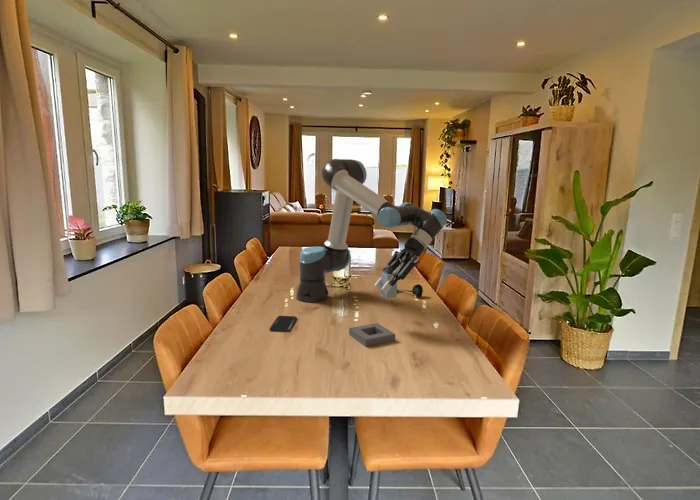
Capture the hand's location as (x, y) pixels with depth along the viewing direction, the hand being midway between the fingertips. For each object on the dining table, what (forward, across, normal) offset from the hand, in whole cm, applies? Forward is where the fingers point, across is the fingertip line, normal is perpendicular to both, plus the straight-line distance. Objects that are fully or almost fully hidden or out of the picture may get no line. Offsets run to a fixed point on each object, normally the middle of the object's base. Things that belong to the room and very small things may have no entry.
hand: (380, 289), depth 159 cm
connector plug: (0, 0, -5) cm, 5 cm away
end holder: (+16, -7, -5) cm, 18 cm away
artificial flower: (-13, +36, -36) cm, 53 cm away
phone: (+33, +19, +11) cm, 40 cm away
